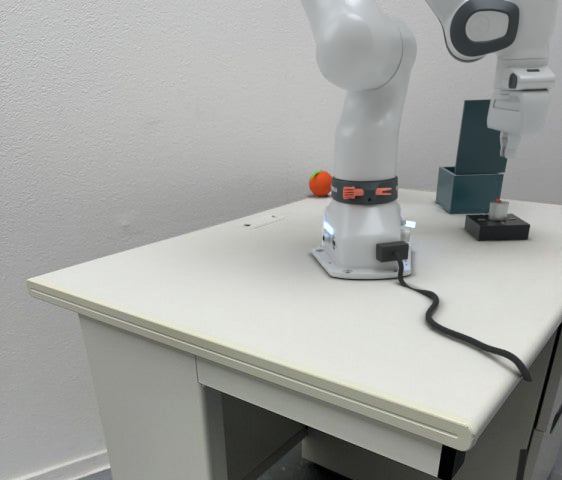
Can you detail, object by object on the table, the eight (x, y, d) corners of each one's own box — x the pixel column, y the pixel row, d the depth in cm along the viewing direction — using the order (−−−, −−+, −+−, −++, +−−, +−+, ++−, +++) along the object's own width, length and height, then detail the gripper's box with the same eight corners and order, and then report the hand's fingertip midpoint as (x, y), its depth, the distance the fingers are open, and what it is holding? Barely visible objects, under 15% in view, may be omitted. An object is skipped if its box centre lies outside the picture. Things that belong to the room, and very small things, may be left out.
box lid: (464, 100, 120) (465, 100, 119) (517, 98, 119) (519, 98, 119) (454, 173, 128) (455, 174, 127) (503, 171, 128) (504, 172, 127)
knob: (508, 221, 112) (512, 202, 110) (491, 221, 112) (494, 202, 110) (502, 217, 115) (505, 198, 113) (485, 217, 115) (488, 199, 113)
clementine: (320, 200, 151) (320, 173, 148) (301, 197, 156) (301, 171, 152) (338, 195, 156) (338, 169, 153) (319, 192, 161) (319, 167, 157)
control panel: (527, 239, 110) (530, 223, 109) (478, 240, 111) (480, 225, 109) (510, 227, 119) (512, 212, 118) (464, 228, 119) (466, 214, 118)
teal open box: (435, 201, 145) (439, 166, 141) (479, 200, 145) (484, 165, 141) (449, 213, 132) (454, 175, 128) (497, 212, 132) (504, 174, 128)
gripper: (484, 78, 110) (475, 151, 117) (523, 78, 92) (509, 165, 99) (516, 77, 110) (504, 150, 117) (560, 77, 92) (544, 164, 99)
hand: (507, 157), depth 108 cm, fingers closed
